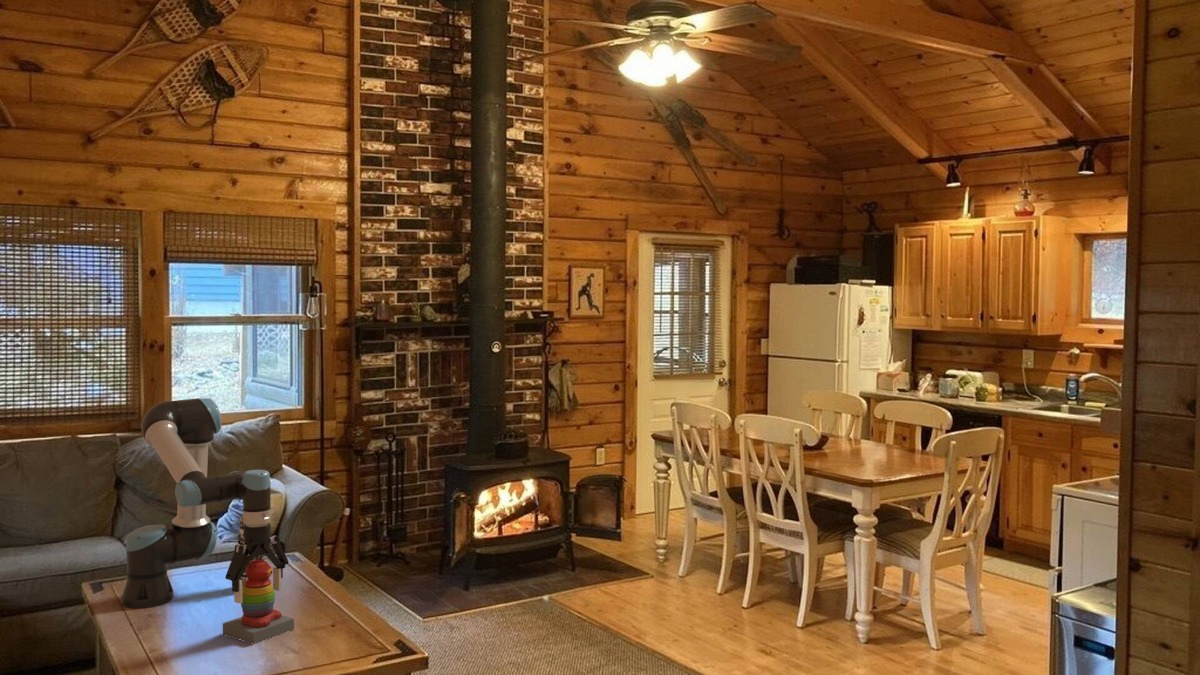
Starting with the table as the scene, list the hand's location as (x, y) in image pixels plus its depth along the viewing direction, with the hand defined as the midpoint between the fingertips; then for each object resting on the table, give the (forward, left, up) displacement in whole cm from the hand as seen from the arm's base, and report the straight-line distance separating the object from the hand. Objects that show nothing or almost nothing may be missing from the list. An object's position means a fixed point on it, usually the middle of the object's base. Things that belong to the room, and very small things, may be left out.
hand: (258, 596), depth 285 cm
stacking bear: (0, 0, -7) cm, 7 cm away
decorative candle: (-36, +26, -11) cm, 46 cm away
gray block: (0, 0, -11) cm, 11 cm away
